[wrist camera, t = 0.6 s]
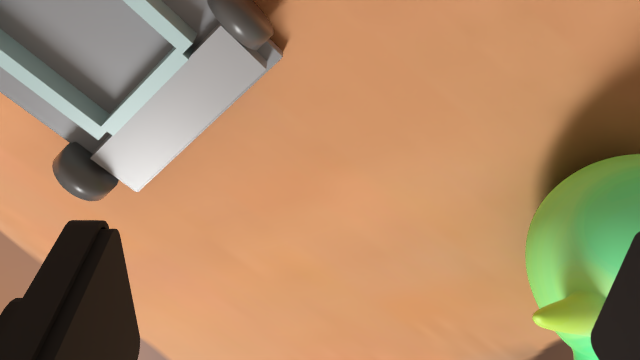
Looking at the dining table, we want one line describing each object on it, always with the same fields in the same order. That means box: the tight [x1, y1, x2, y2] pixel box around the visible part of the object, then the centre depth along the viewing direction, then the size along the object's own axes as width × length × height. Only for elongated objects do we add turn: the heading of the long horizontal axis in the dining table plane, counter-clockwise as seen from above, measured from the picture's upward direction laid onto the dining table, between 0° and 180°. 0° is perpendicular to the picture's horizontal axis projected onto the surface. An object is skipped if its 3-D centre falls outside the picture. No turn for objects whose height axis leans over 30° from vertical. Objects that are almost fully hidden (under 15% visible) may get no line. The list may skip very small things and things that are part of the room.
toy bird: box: [525, 154, 640, 360], centre depth 40 cm, size 18×17×15 cm
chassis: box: [0, 0, 283, 201], centre depth 34 cm, size 18×21×4 cm
